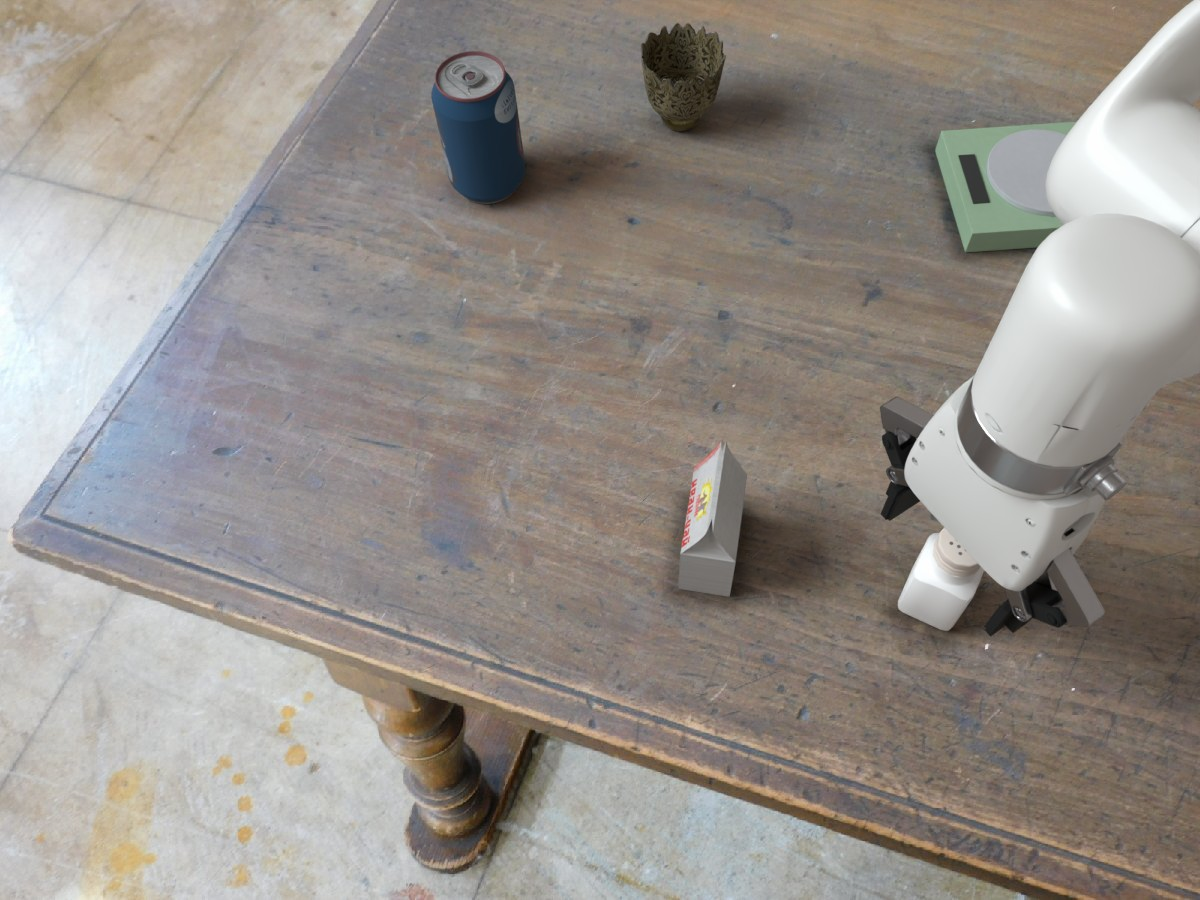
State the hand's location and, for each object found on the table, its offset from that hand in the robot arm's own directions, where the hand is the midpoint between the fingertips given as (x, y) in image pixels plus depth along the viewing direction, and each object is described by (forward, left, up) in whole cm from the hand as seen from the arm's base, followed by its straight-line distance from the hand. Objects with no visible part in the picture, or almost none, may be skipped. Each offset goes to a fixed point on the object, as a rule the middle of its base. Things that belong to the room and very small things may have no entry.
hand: (950, 562), depth 70 cm
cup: (+13, -49, -7) cm, 51 cm away
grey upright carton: (+15, -5, -7) cm, 17 cm away
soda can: (+31, -43, -7) cm, 53 cm away
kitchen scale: (-16, -37, -7) cm, 41 cm away
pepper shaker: (0, 0, -7) cm, 7 cm away
